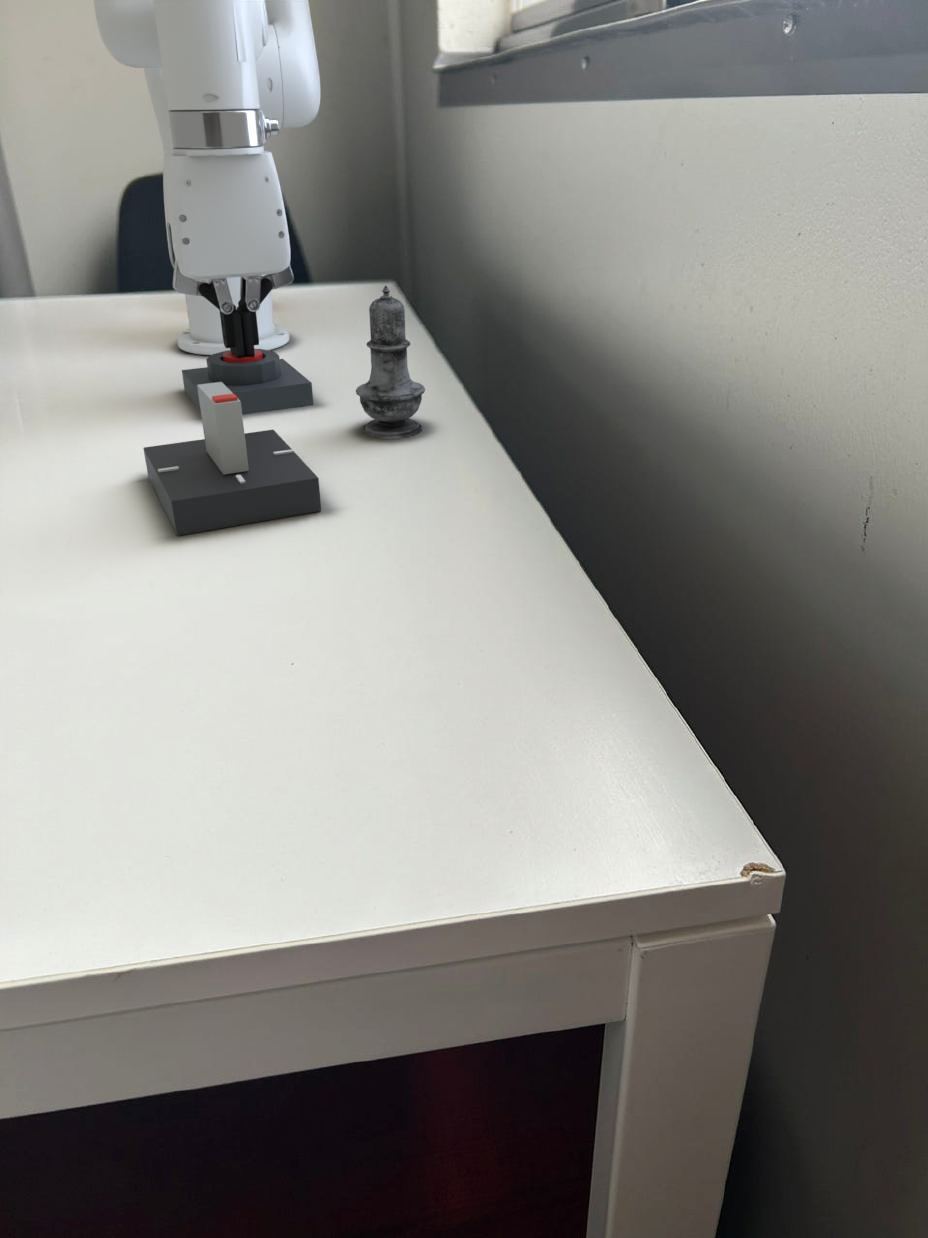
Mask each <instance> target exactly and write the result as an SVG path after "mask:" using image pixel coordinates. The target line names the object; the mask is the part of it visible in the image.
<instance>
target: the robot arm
mask: <svg viewBox="0 0 928 1238" xmlns="http://www.w3.org/2000/svg"><path fill="white" fill-rule="evenodd" d="M93 4H94V5H93V6H94V12H95V13H94V14H95V18H96V23H97V28H98V31H99V35H100V38H101V40H102V42H103V45H104V46H105V49H106V50H107V52H108V53H109V55H110V56H111V57H112V58H113V59H114V60H115V61H116V62H118V63H119V64H122V65H124V66H126V67H130V68H135V69H136V68H137V69H143V71H144V76H145V81H146V86H147V90H148V93H149V96H150V99H151V104H152V107H153V111H154V115H155V119H156V122H157V126H158V130H159V135H160V139H161V144H162V147H163V165H162V166H163V167H162V170H163V171H162V178H163V179H162V186H163V189H162V190H163V205H164V219H165V229H166V240H167V248H168V254H169V261H170V263H171V266H172V268H173V274H172V275H173V276H172V277H173V278H172V288H173V289H174V290H175V291H176V292H177V293H179V294H184V298H185V304H186V310H187V311H186V312H187V319H188V325H189V329H186V330H184V331H182V332H180V333H179V334H178V335H177V337H176V341H177V342H176V343H177V347H178V348H179V349H180V350H182V351H184V352H186V353H190V354H195V355H202V356H211V355H212V354H216V353H219V352H223V351H228V350H231V352H232V353H233V354H234V355H235V356H236V357H237V358H243V356H245V355H246V356H249V357H255V351H254V349H264V350H269V351H273V350H275V349H279V348H281V347H283V346H285V345H286V344H288V343H289V342H290V332H289V330H288V328H286V327H285V326H282V325H280V324H275V316H274V306H273V305H274V304H273V294H272V291H273V290H276V289H279V288H282V287H285V286H288V285H290V284H292V283H293V282H294V280H295V276H294V273H293V270H292V267H291V258H292V257H291V255H292V254H291V243H290V241H291V240H290V234H289V226H288V220H287V215H286V214H287V213H286V209H285V204H284V198H283V194H282V188H281V185H280V184H281V183H280V179H279V175H278V171H277V167H276V164H275V163H276V162H275V160H274V156H273V153H272V151H269V150H265V147H264V145H266V141H267V140H268V139H267V138H271V136H279V133H280V130H281V129H295V128H296V129H297V128H302V127H305V126H307V125H309V124H311V123H312V122H313V121H314V120H315V118H317V115H318V113H319V111H320V107H321V96H322V95H321V94H322V93H321V77H320V68H319V62H318V54H317V49H316V42H315V35H314V29H313V22H312V16H311V15H312V14H311V8H310V2H309V0H93Z"/></svg>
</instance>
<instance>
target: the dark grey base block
mask: <svg viewBox="0 0 928 1238" xmlns="http://www.w3.org/2000/svg"><path fill="white" fill-rule="evenodd" d="M244 434H245V442H246V451H247V459H248V467H249V471H245V472H238V473H232V474H226V475H224V474H223V473H222V472H221V470H220V469H219V468H218V466H217V465H216V464H215V462H214V461H213V460H212V458H211V457H210V456H209V454H208V453H207V451H206V445H205V438H204V439H203V438H201V439H196V440H187V441H180V442H173V443H167V444H160V445H153V446H146V447H143V455H144V459H145V466H146V471H147V477H148V480H149V482H150V484H151V487H152V488H153V490H154V492H155V494H156V496H157V498H158V501H159V502H160V504H161V506H162V508H163V510H164V512H165V514H166V517H167V518H168V521H169V523H170V524H171V526H172V529H173V530H174V533H175V535H176V536H178V537H179V536H185V535H190V534H196V533H202V532H207V531H208V532H209V531H214V530H219V529H226V528H230V527H231V528H232V527H237V526H243V525H249V524H255V523H259V522H260V523H261V522H266V521H270V520H277V519H282V518H289V517H295V516H301V515H305V514H312V513H318V512H321V511H322V502H321V491H320V480H319V477H318V476H317V474H315V473H314V472H313V470H312V469H311V468H310V467H309V466H308V465H307V464H306V463H305V462H304V461H303V459H302V458H301V457H300V456H299V455H298V454H297V453H296V452H295V451H294V450H293V449H292V447H290V446H289V445H288V444H287V442H286V441H285V440H284V439H283V438H282V437H281V436H280V435H279V434H278V433H277V431H275V429H266V430H259V431H252V432H244Z"/></svg>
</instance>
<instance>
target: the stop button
mask: <svg viewBox="0 0 928 1238" xmlns="http://www.w3.org/2000/svg"><path fill="white" fill-rule="evenodd" d="M254 351H255V357H249V356H246V355H245V356H243V358H237V357H236V356H235V355H234V354H233V353H232V352H231V351H227V352H225V353H224V354H223V360H224V361H225V362H230V363H244V362H253V361H257V360H261V359H263V356H262V352H261V351H260V350H256V349H254Z"/></svg>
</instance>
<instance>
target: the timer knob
mask: <svg viewBox="0 0 928 1238" xmlns="http://www.w3.org/2000/svg"><path fill="white" fill-rule="evenodd" d="M197 388H198V395H199V402H200V409H201V413H200V416H201V424H202V431H203V436H204V439H205V445H206V451H207V453H208V454H209V456H210V457H211V458H212V460H213V461H214V462H215V464H216V465H217V466H218V468H219V469H220V470H221V472H222V473H223V474H224V475H226V474H232V473H238V472H245V471H249V467H248V459H247V451H246V442H245V427H244V418H243V415H242V409H241V401H240V400H239V399H238V398H237V396H236V395H235V394H234V393H232V392H231V391H230V390H229V389H228V388H227V387H226V386H225V385H224V384H223V383H222V382H216V383H208V384H200V385H197Z"/></svg>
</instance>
